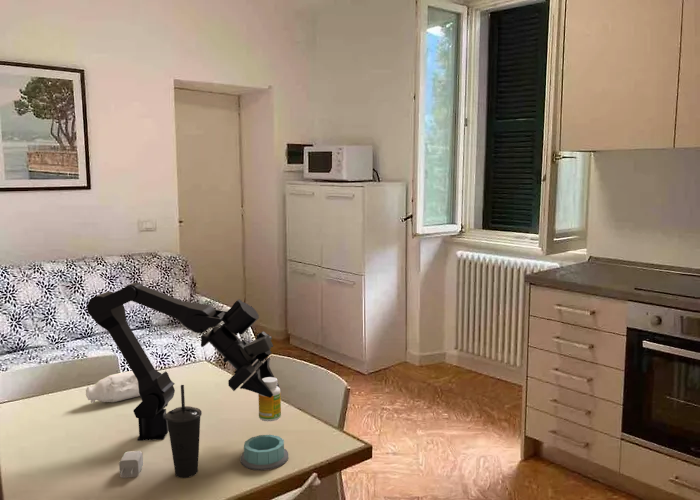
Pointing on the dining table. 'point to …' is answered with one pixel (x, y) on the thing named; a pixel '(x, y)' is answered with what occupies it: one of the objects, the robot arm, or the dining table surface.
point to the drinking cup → (184, 438)
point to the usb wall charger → (131, 464)
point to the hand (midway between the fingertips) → (274, 392)
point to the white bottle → (114, 388)
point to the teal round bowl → (264, 453)
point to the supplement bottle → (270, 401)
